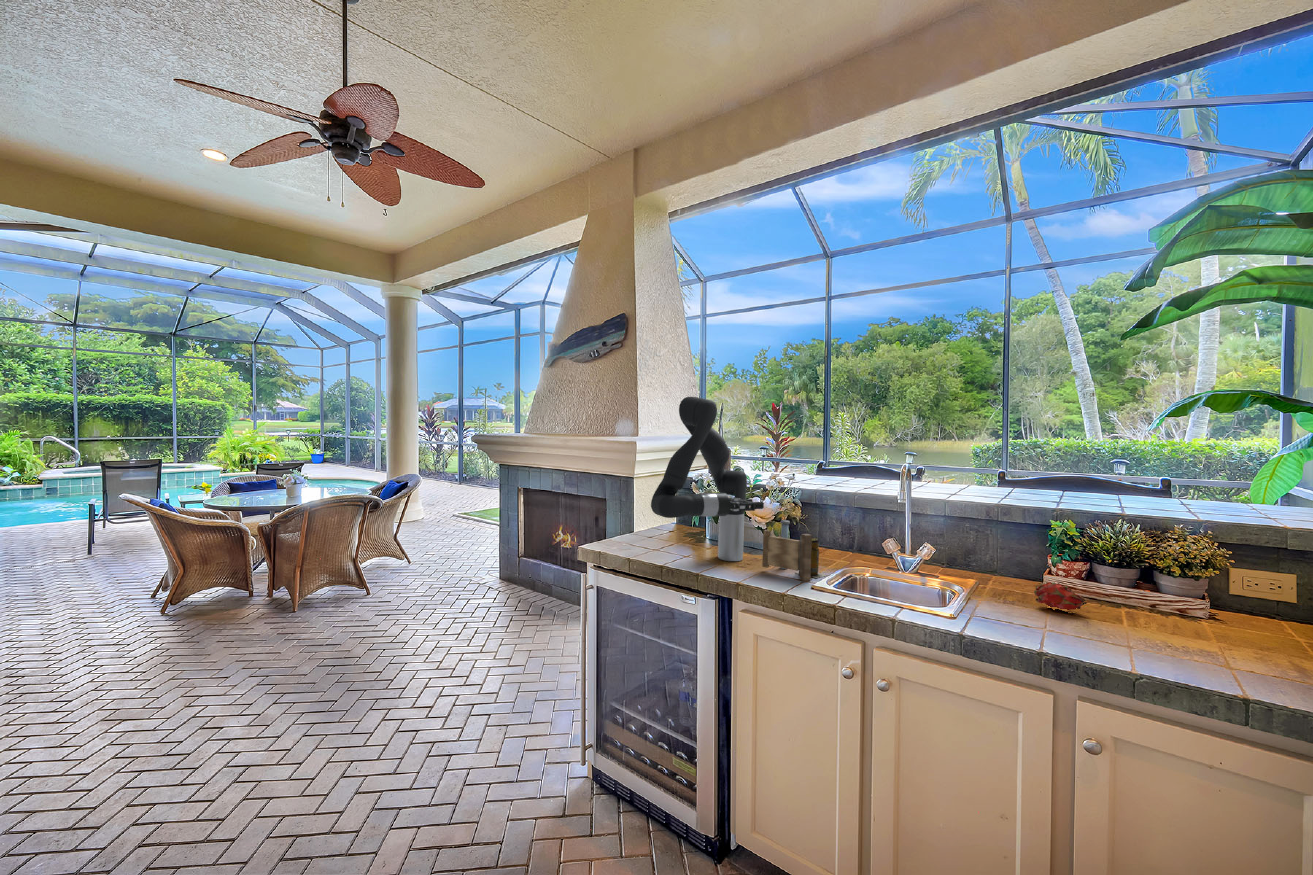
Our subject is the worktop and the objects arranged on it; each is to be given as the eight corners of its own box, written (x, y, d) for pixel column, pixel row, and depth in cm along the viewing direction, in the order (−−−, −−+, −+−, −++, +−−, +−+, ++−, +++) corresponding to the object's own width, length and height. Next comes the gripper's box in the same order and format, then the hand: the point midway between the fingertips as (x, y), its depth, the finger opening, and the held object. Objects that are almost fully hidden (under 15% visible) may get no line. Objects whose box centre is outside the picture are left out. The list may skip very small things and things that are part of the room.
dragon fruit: (1029, 609, 153) (1081, 625, 146) (1032, 598, 147) (1086, 615, 140) (1035, 583, 157) (1086, 598, 149) (1037, 572, 151) (1091, 586, 143)
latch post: (777, 567, 187) (778, 520, 186) (784, 566, 188) (786, 520, 188) (782, 569, 184) (784, 521, 183) (790, 569, 185) (791, 521, 185)
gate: (762, 568, 181) (763, 530, 181) (764, 567, 182) (765, 530, 182) (801, 576, 172) (803, 536, 172) (803, 575, 173) (805, 536, 173)
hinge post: (799, 579, 172) (801, 533, 171) (805, 579, 172) (807, 533, 172) (804, 581, 169) (805, 535, 169) (810, 581, 170) (811, 535, 170)
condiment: (806, 570, 185) (807, 536, 185) (827, 575, 178) (829, 540, 178) (794, 573, 180) (795, 538, 180) (815, 578, 173) (816, 542, 173)
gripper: (723, 495, 161) (769, 495, 167) (703, 490, 175) (746, 490, 181) (722, 519, 161) (769, 518, 167) (702, 512, 175) (745, 511, 181)
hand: (757, 503), depth 174 cm, fingers open, 6 cm apart
